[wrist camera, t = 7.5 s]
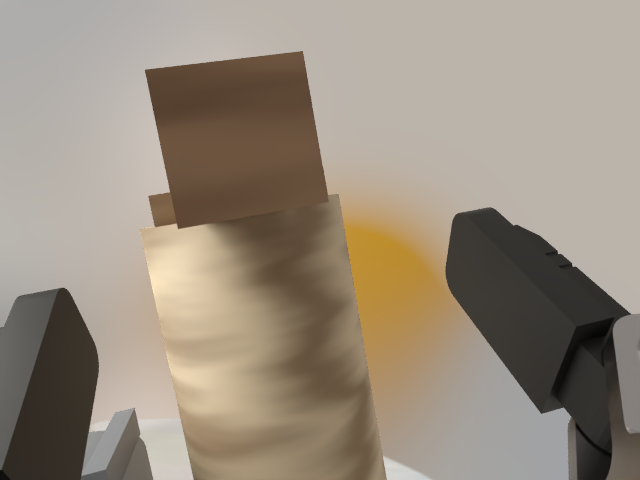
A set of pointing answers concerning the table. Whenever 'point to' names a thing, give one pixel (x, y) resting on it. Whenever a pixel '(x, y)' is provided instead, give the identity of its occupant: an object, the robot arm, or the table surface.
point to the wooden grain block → (237, 137)
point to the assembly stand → (117, 451)
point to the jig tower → (265, 344)
